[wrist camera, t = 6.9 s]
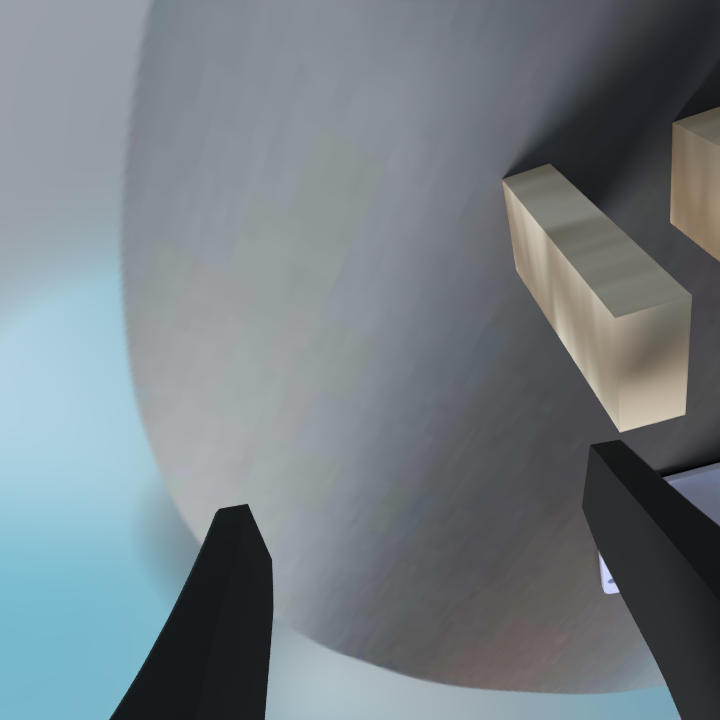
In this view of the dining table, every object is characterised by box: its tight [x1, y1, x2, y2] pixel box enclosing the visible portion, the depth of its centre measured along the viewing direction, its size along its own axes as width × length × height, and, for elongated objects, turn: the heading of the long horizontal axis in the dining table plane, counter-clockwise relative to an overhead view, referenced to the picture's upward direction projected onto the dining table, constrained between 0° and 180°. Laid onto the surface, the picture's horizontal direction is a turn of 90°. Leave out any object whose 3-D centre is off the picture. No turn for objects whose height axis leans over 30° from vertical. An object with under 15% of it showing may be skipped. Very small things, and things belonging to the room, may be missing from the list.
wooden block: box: [502, 163, 692, 432], centre depth 16 cm, size 4×2×8 cm, turn 17°
